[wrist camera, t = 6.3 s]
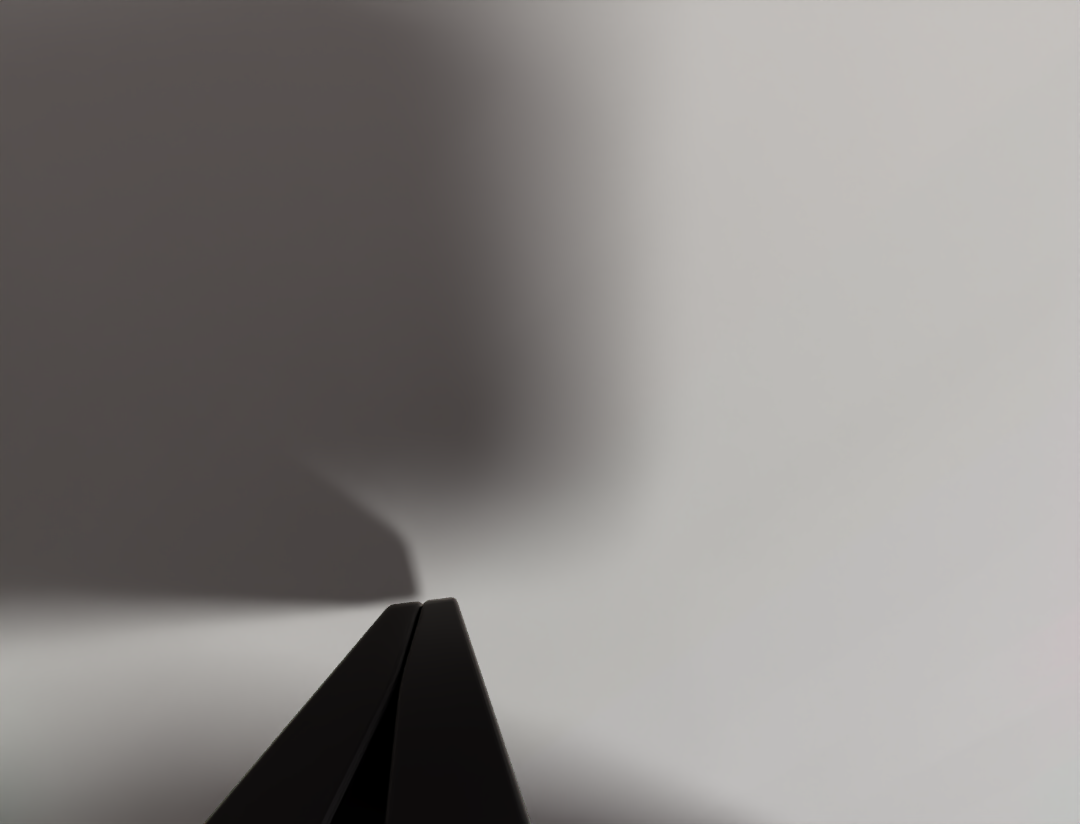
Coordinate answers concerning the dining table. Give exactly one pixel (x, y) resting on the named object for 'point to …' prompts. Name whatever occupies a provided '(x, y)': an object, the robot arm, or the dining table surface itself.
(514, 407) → the dining table surface
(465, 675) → the robot arm
